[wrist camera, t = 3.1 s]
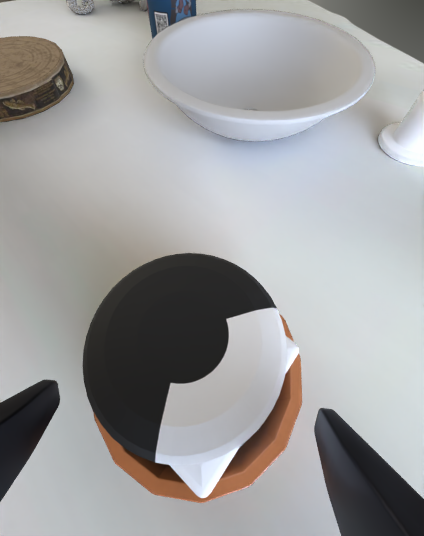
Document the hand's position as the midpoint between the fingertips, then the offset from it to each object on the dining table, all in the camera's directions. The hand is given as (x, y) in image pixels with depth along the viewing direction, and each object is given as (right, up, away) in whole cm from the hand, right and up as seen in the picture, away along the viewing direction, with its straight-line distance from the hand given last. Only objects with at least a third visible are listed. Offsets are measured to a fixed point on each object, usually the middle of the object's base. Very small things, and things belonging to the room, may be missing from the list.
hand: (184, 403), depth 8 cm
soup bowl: (+6, +24, +23) cm, 34 cm away
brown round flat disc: (-27, +30, +26) cm, 48 cm away
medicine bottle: (0, -3, +9) cm, 10 cm away
